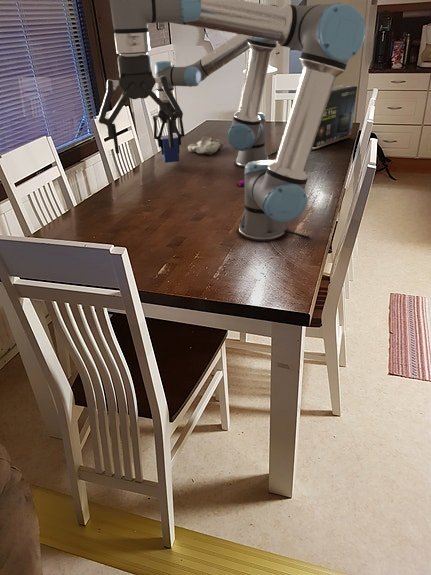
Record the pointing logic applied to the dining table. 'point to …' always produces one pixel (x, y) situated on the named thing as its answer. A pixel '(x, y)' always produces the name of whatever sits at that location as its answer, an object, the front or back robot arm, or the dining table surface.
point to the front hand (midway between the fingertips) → (144, 149)
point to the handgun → (242, 183)
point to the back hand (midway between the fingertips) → (170, 153)
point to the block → (170, 149)
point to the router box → (337, 115)
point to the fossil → (206, 146)
